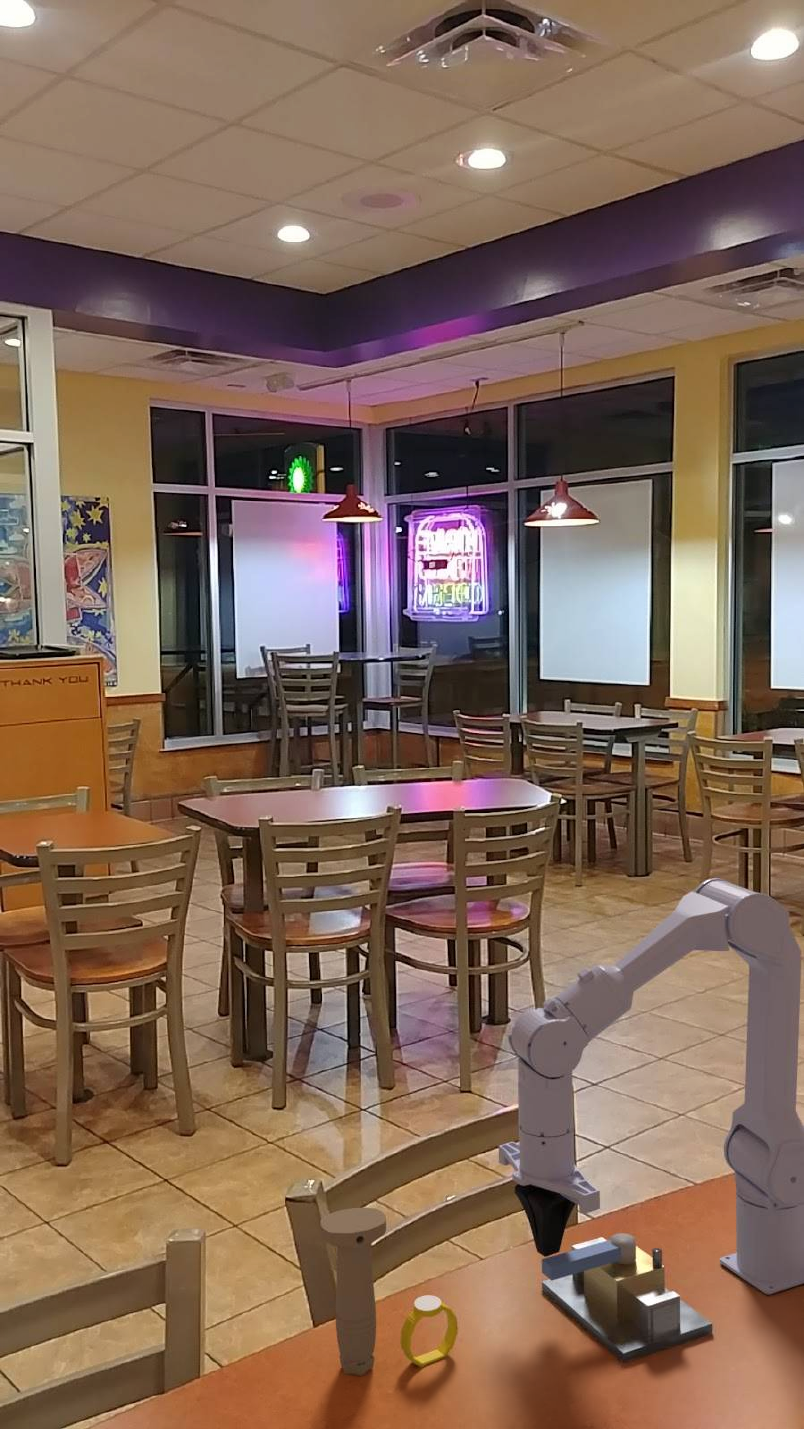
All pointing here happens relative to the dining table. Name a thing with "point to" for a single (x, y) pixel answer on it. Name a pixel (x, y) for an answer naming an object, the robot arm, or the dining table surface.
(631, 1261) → the lever
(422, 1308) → the watch
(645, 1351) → the valve
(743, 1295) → the dining table surface
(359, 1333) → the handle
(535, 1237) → the robot arm
